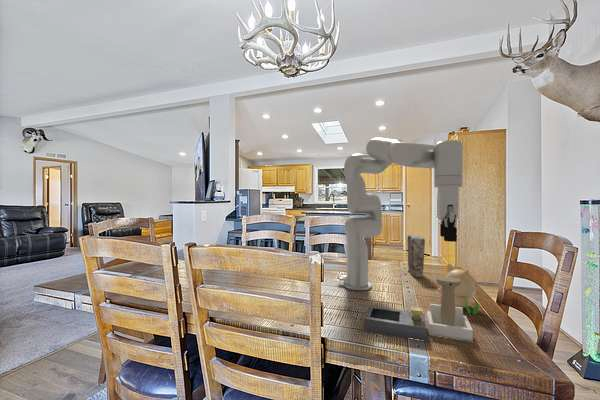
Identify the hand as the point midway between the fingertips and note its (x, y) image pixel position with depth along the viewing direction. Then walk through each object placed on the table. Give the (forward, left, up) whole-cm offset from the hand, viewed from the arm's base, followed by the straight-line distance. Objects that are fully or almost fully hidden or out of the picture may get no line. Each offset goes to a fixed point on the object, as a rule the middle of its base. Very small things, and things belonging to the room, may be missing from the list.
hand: (447, 238), depth 84 cm
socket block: (-15, -4, -28) cm, 32 cm away
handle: (0, 0, -28) cm, 28 cm away
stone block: (-8, +64, -28) cm, 70 cm away
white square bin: (0, 0, -28) cm, 28 cm away
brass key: (-9, -4, -28) cm, 30 cm away
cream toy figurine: (+7, +23, -28) cm, 37 cm away
